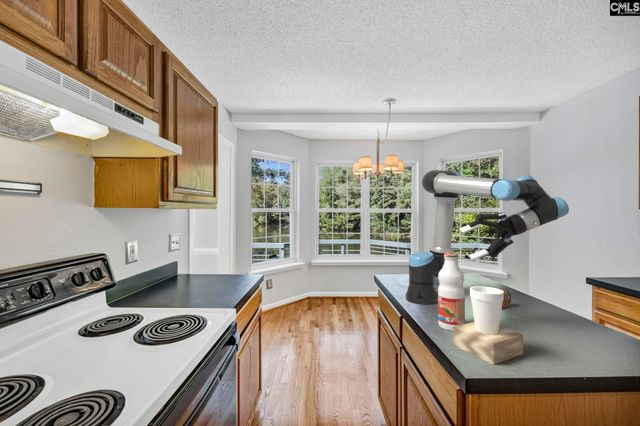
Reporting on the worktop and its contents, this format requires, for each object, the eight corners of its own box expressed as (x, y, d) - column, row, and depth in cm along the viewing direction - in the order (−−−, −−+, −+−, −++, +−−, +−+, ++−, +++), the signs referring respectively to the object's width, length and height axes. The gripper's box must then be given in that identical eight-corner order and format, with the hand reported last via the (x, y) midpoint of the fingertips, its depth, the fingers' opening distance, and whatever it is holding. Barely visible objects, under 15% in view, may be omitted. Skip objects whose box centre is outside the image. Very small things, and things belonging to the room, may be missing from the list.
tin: (491, 311, 129) (491, 292, 129) (485, 309, 131) (484, 291, 131) (512, 306, 136) (511, 288, 136) (505, 304, 138) (504, 286, 138)
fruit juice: (469, 331, 108) (469, 255, 108) (444, 332, 108) (443, 255, 108) (458, 322, 117) (457, 252, 117) (434, 322, 117) (433, 252, 117)
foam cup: (503, 339, 88) (503, 295, 87) (469, 332, 92) (468, 291, 92) (503, 328, 96) (503, 288, 96) (471, 322, 100) (471, 285, 100)
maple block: (453, 344, 97) (452, 326, 97) (481, 336, 103) (481, 319, 103) (493, 364, 85) (493, 343, 85) (523, 354, 91) (523, 334, 91)
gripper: (521, 198, 103) (462, 223, 106) (533, 252, 112) (478, 274, 116) (508, 191, 109) (453, 215, 113) (520, 242, 119) (469, 263, 122)
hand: (466, 244), depth 114 cm, fingers open, 13 cm apart
